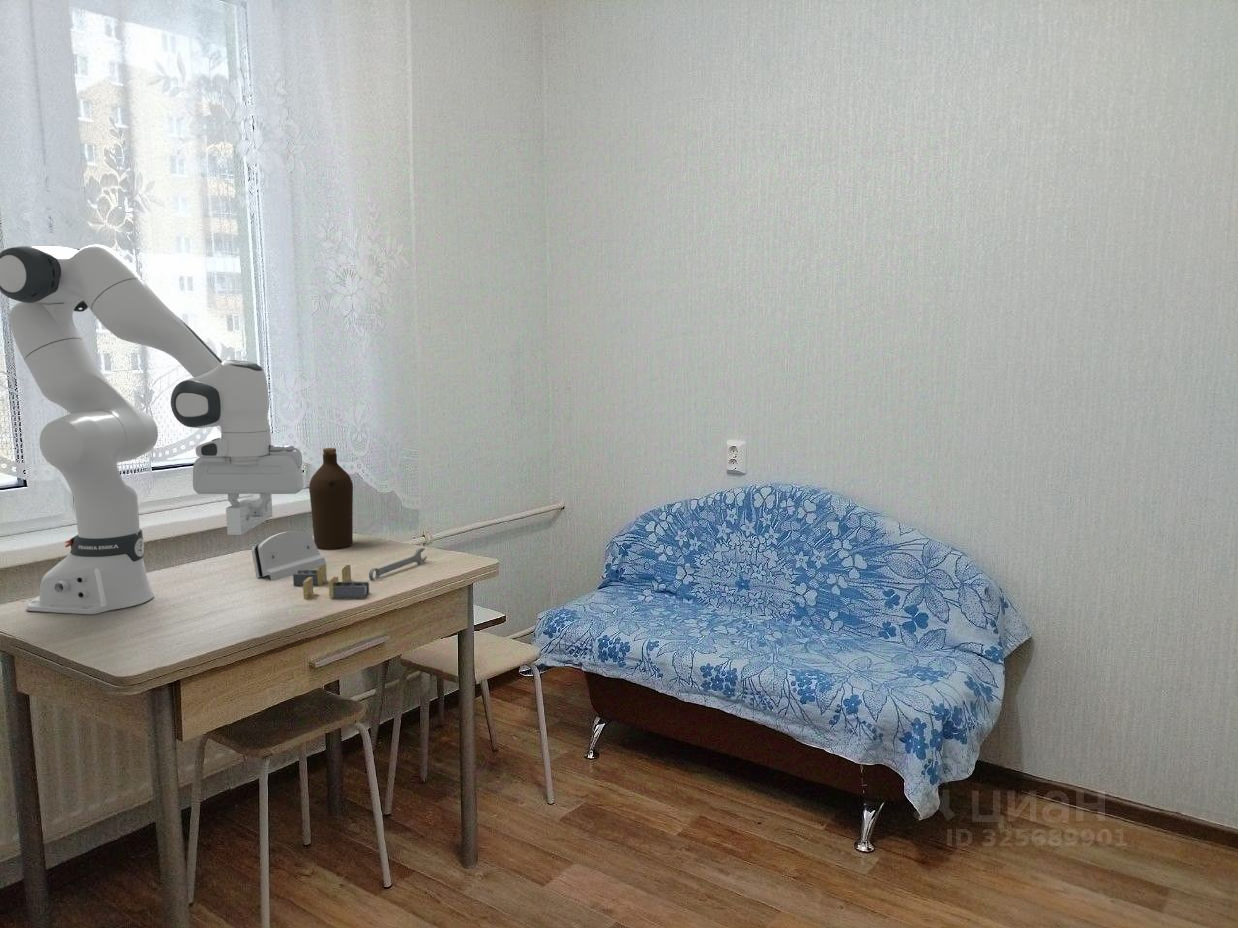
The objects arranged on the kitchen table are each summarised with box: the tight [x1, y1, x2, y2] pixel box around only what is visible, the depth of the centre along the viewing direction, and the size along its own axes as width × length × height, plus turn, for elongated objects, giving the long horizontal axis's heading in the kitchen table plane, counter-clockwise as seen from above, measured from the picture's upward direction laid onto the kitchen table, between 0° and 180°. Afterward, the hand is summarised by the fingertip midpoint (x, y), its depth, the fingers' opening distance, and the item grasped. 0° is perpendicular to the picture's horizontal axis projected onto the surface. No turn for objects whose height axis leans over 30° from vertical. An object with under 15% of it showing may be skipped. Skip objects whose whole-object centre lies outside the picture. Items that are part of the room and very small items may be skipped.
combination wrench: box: [368, 547, 428, 581], centre depth 217 cm, size 4×1×20 cm
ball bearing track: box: [292, 564, 370, 599], centre depth 201 cm, size 18×14×4 cm
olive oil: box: [308, 447, 354, 550], centre depth 240 cm, size 11×11×25 cm
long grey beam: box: [225, 494, 273, 536], centre depth 183 cm, size 3×17×5 cm, turn 1°
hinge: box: [251, 530, 327, 582], centre depth 216 cm, size 17×5×10 cm, turn 152°
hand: (250, 516), depth 183 cm, fingers closed on long grey beam, 2 cm apart
